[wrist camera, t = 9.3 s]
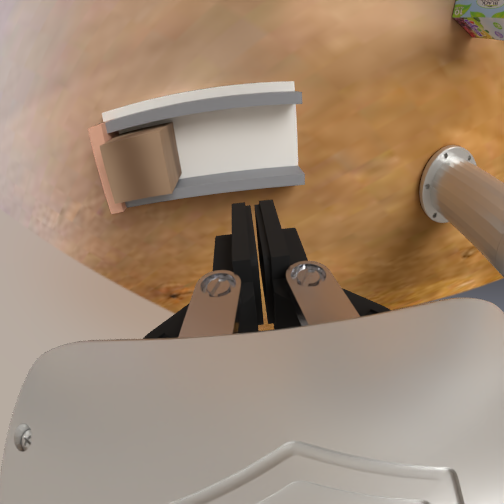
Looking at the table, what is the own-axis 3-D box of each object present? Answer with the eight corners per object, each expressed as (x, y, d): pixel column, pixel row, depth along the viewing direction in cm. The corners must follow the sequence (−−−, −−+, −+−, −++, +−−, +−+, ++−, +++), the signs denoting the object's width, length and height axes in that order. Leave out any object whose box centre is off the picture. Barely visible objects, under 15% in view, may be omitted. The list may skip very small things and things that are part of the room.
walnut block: (172, 121, 26) (159, 131, 21) (181, 172, 29) (171, 193, 24) (121, 133, 26) (99, 146, 21) (133, 181, 29) (115, 203, 24)
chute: (292, 81, 25) (303, 81, 21) (296, 181, 32) (307, 197, 28) (105, 112, 25) (85, 118, 21) (127, 203, 32) (114, 222, 28)
